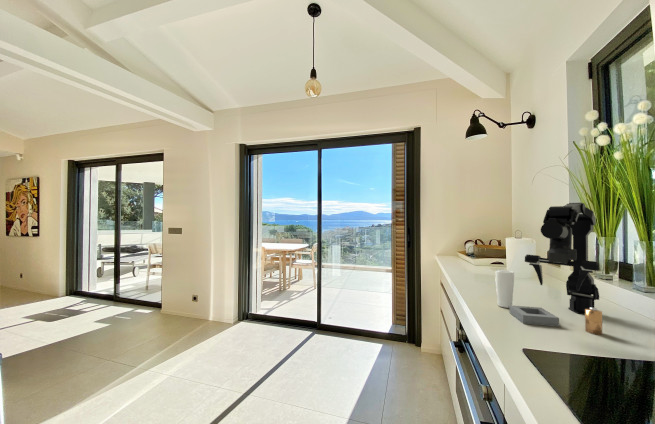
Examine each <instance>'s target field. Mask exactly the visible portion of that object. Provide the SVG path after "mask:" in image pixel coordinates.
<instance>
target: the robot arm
mask: <svg viewBox="0 0 655 424" xmlns="http://www.w3.org/2000/svg"><path fill="white" fill-rule="evenodd" d="M542 221H543V224H542V225H541V227H540V233H541V235H542V236H543V237H545V238H546V239H549V249H548V250H547V258H545V257H541V255H535V254H526V255H525V256H524V262H525V263H528V264H529V266H532V267H533V268H534V270H535V271H534V272H535V273H536V276H537V278H538V281H539V285H540V286H543V284H544V280H543V268H542V267H543V266H542V263H543V264H548V265H558V266H564V267H565V266H567V267H572V272H571V273H570V274H569V275H568V277H567V280H566V282H565V286H566V288H565V289H566V295H567V296H570V298H569V307H568V310H570V311H573V312H574V313H577V314H579V315H585V309H586V308H589V309H590V307H594V308H595V301H600V292H599V288H598V287H597V285H596V283H595V279H594V277H593V276H592V275H591V274H593V273H594V272H595V271H596V272H599V271H600V263H599V262H597V261H593V260H589V235H590V234H591V233H592V231H594V226H595V225H596V216H595V213H594V211H593V210H592V209H589V208H588V207H587V206H586V204H585V202H584V203H583V202H569V203H566V204H565V205H563V206H562V205H561V206H558V205H557V206H556V205H555V206H552V205H551V206H550V207H548V209H547V210H546V211H545V215H544V218H543V220H542Z"/></svg>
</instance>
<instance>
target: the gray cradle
mask: <svg viewBox="0 0 655 424" xmlns="http://www.w3.org/2000/svg"><path fill="white" fill-rule="evenodd" d="M509 314H511V316H513V317H514V318H515V319H516V320H518V321H519V322H520V323H522V324H524V325H525V324H527V325H535V326H547V327H548V326H549V327H558V328H559V327H560V318H559V316H556V315H555V314H554V313H551V312H550V311H548V310H546V309H544V308H542V307H537V306H536V307H535V306H522V305H513V304H512V305H510V308H509Z"/></svg>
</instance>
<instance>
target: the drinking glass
mask: <svg viewBox="0 0 655 424" xmlns="http://www.w3.org/2000/svg"><path fill="white" fill-rule="evenodd" d="M494 279H495V290H496V302H497V305H498V307H500V308H505V309H510V305H512V306H513V301H514V299H513V297H514V287H515V272H514V271H512V270H508V269H496V270H495V272H494Z"/></svg>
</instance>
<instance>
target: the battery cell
mask: <svg viewBox="0 0 655 424" xmlns="http://www.w3.org/2000/svg"><path fill="white" fill-rule="evenodd" d="M584 324H585V325H584V327H585V328H584V330H585V332H586V333H589V334H592V335H596V336H601V335H603V311H601V310H599V309H598V308H597V307H595V306H594V307H590V309H589V308H586V309H585V314H584Z"/></svg>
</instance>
